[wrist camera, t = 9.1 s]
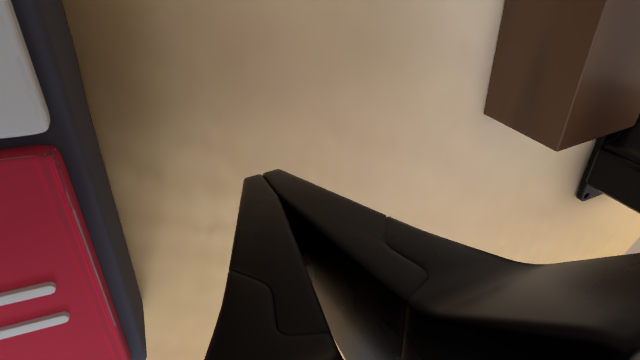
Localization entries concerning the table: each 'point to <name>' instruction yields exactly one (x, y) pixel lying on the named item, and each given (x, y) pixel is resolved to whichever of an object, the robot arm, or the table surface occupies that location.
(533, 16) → the walnut block
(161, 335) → the table surface
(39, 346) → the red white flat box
